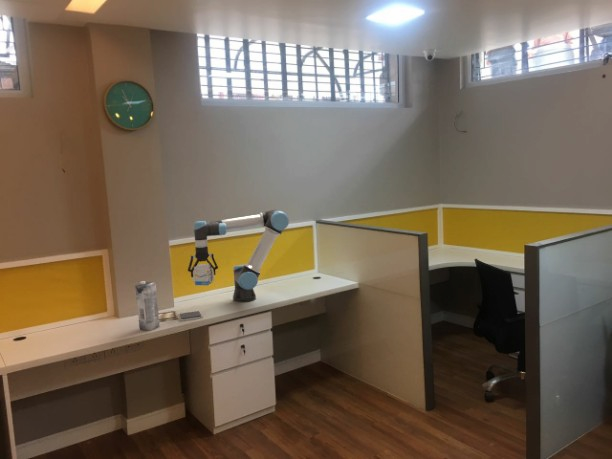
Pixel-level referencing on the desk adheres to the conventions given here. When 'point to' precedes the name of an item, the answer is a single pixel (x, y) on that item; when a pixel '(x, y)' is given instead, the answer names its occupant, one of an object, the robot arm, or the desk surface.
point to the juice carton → (147, 305)
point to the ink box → (203, 274)
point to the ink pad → (190, 315)
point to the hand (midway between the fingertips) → (203, 281)
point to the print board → (168, 316)
